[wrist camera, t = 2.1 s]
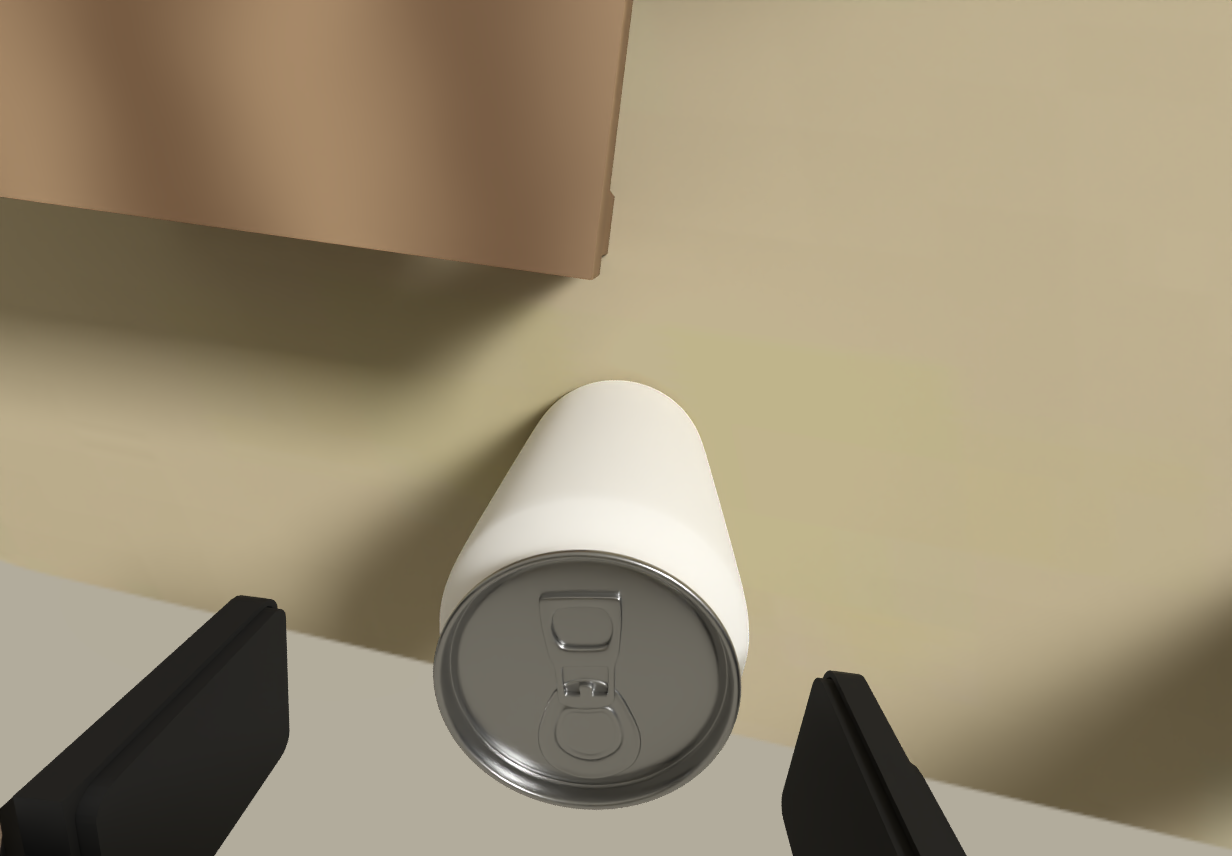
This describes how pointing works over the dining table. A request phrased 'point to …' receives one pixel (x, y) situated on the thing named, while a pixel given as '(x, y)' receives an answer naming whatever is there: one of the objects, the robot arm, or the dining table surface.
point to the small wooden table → (327, 119)
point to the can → (596, 609)
